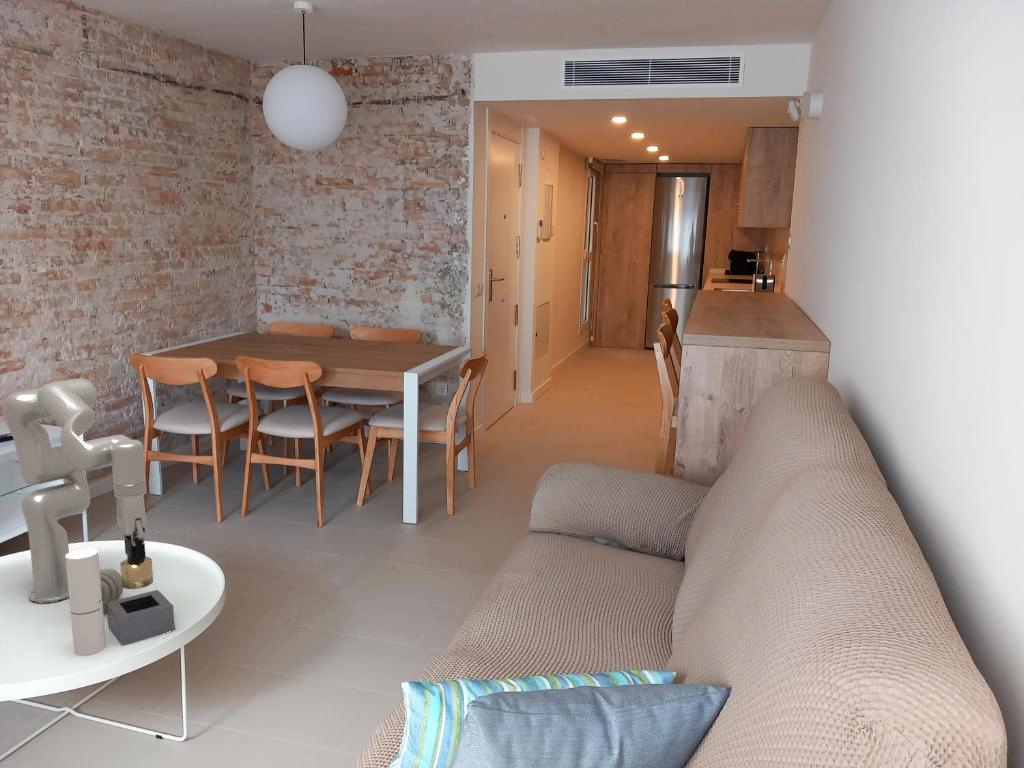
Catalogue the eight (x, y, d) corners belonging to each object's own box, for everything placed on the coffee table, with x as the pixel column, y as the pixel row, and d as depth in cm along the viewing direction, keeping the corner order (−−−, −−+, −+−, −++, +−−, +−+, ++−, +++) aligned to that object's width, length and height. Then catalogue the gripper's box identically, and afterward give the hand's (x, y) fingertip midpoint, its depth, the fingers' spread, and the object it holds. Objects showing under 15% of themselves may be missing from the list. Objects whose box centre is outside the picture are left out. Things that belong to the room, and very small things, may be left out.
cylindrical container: (111, 641, 210) (103, 548, 205) (98, 655, 202) (89, 558, 198) (82, 642, 209) (74, 548, 205) (68, 655, 202) (59, 559, 198)
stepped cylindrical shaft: (118, 582, 215) (115, 539, 213) (148, 575, 219) (145, 532, 217) (126, 591, 209) (123, 547, 207) (157, 584, 214) (153, 540, 212)
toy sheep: (70, 622, 220) (67, 583, 219) (97, 595, 237) (94, 559, 235) (111, 620, 221) (108, 581, 219) (135, 594, 238) (132, 558, 236)
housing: (108, 627, 217) (106, 602, 216) (159, 613, 225) (157, 589, 224) (122, 645, 207) (119, 619, 206) (174, 630, 215) (173, 605, 214)
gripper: (105, 483, 214) (111, 550, 217) (123, 499, 201) (129, 569, 204) (136, 478, 219) (141, 543, 222) (155, 493, 206) (160, 562, 209)
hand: (135, 555), depth 213 cm, fingers open, 5 cm apart
